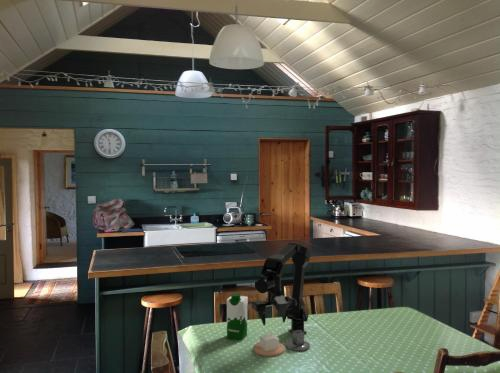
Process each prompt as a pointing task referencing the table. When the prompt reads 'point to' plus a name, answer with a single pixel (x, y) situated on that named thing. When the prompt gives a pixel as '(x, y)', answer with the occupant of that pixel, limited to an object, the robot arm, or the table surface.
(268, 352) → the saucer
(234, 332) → the milk carton
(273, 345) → the cream colored cube
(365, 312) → the table surface
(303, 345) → the grey rounded piece
